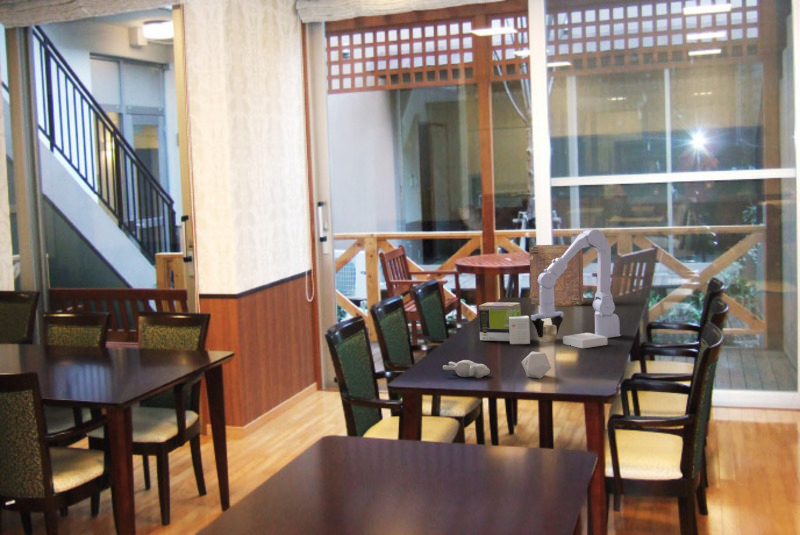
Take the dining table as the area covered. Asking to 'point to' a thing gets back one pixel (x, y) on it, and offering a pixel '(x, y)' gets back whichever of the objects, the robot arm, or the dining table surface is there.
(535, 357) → the die
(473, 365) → the bunny figurine
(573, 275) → the book
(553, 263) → the robot arm
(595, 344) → the white square slab
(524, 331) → the small box
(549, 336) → the maple block
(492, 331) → the tea box
